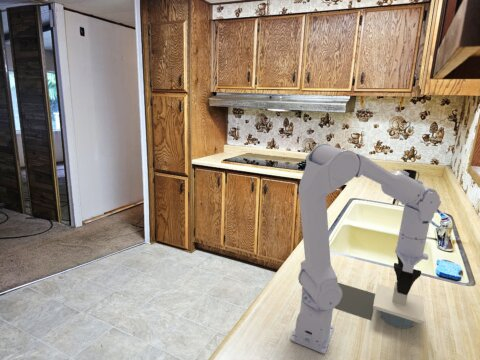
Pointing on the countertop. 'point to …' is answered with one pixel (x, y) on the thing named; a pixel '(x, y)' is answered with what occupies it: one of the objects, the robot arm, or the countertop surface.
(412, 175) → the gray black pitcher
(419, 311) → the cover
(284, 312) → the countertop surface
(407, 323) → the bowl
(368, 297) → the mat
